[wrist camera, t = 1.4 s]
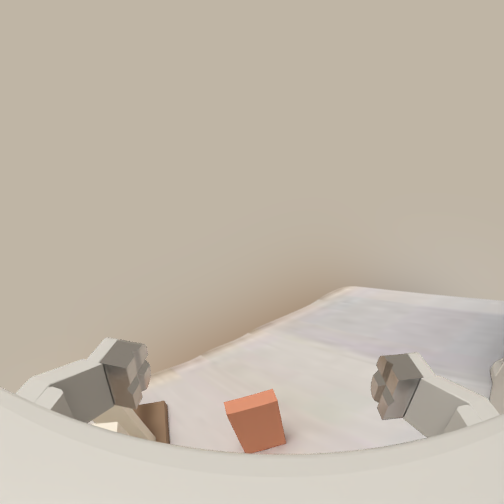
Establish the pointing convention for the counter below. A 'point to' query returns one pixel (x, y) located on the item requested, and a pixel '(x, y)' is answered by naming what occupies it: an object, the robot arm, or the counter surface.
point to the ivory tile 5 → (126, 421)
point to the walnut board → (155, 419)
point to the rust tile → (256, 421)
